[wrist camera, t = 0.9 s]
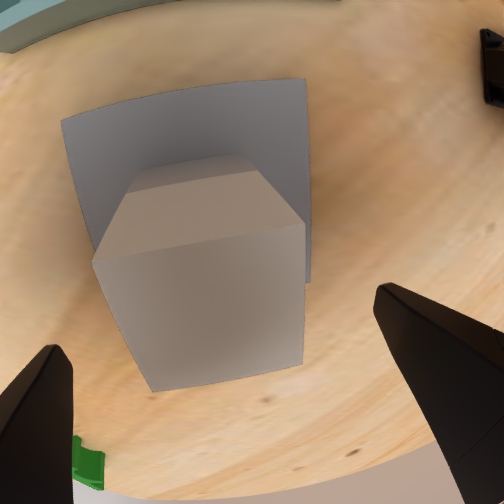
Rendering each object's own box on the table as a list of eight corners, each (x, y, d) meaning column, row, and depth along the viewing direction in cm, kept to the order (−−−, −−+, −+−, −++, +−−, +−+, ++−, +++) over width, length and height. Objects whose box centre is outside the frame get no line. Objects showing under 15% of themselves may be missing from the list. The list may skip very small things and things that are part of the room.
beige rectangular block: (241, 152, 14) (305, 223, 7) (250, 243, 17) (302, 364, 9) (138, 170, 14) (90, 262, 6) (160, 259, 16) (152, 392, 9)
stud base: (298, 79, 14) (334, 76, 10) (304, 274, 20) (330, 315, 16) (67, 118, 12) (31, 129, 9) (123, 307, 18) (114, 355, 15)
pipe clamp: (119, 460, 30) (119, 490, 26) (98, 462, 30) (97, 490, 26) (59, 421, 24) (54, 456, 20) (39, 423, 24) (33, 457, 20)
